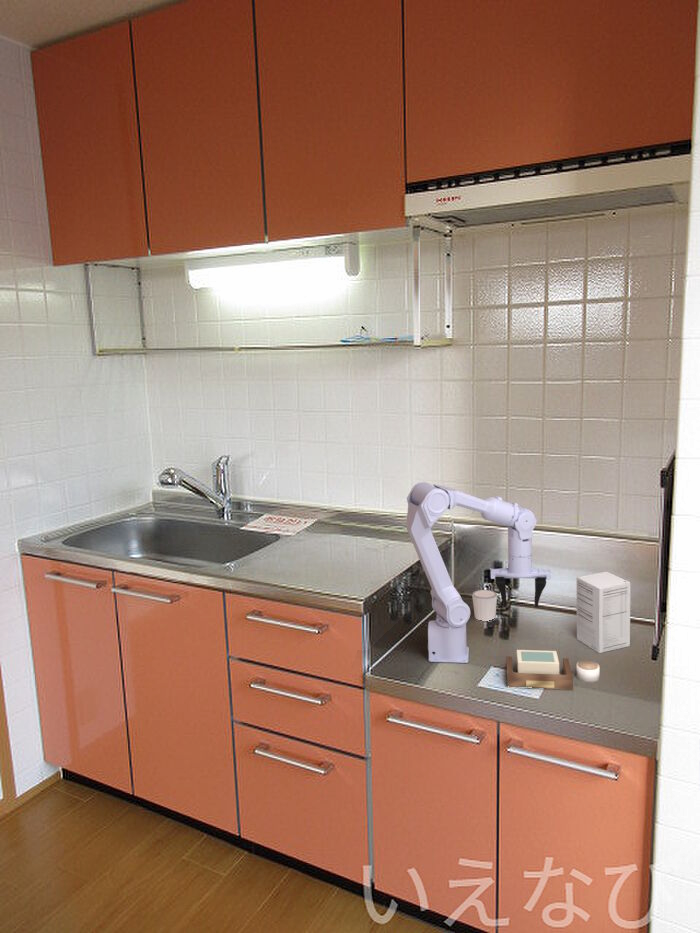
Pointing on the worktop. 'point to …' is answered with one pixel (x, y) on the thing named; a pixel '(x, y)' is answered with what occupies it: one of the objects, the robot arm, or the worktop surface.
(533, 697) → the worktop surface
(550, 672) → the carton
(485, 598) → the beige tapered cup
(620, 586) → the supplement box
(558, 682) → the display stand
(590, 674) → the salt pot
